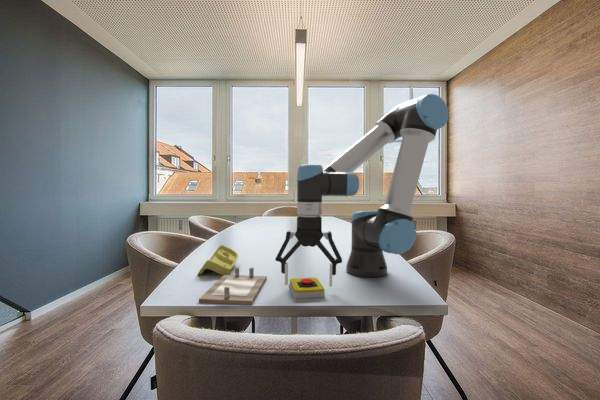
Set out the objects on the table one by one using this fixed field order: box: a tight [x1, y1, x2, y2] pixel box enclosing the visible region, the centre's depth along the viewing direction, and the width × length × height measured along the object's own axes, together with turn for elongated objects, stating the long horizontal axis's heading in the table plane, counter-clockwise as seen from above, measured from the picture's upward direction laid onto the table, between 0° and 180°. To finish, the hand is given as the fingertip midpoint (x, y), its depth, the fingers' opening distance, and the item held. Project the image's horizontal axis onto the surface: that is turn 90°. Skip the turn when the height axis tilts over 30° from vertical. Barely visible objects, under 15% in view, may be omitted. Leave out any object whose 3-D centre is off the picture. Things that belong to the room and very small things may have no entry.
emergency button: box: [287, 277, 327, 302], centre depth 97 cm, size 9×4×15 cm
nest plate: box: [198, 266, 268, 305], centre depth 99 cm, size 23×15×4 cm, turn 176°
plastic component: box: [197, 244, 239, 276], centre depth 122 cm, size 20×7×10 cm
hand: (308, 284), depth 97 cm, fingers open, 13 cm apart
